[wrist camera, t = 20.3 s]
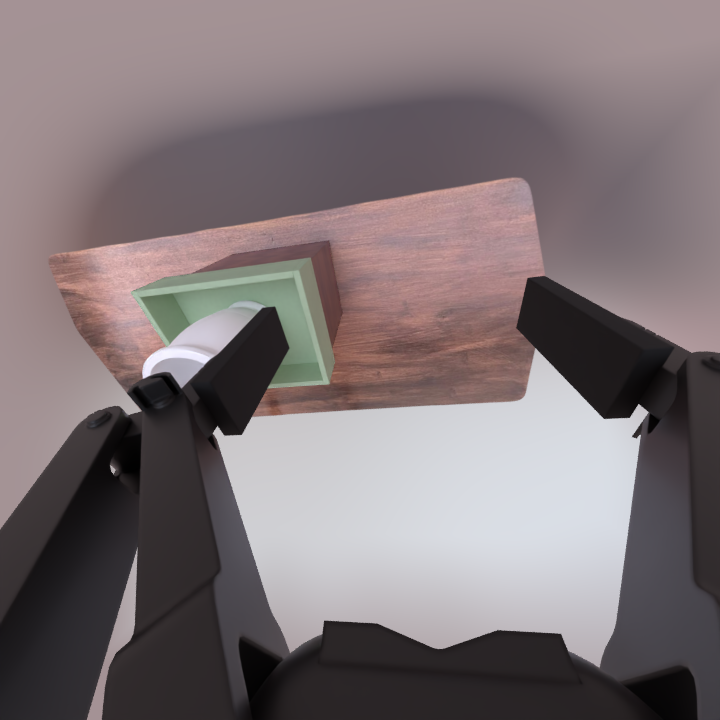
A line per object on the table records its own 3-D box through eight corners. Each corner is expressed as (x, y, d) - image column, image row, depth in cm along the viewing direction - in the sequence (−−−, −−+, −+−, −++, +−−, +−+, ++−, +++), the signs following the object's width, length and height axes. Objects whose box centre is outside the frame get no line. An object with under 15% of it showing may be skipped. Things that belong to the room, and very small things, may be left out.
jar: (264, 281, 34) (199, 335, 22) (301, 343, 40) (265, 414, 27) (203, 307, 37) (116, 367, 25) (245, 361, 42) (191, 434, 30)
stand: (258, 321, 60) (218, 366, 45) (232, 254, 51) (172, 282, 36) (342, 312, 57) (329, 357, 42) (328, 240, 49) (306, 264, 34)
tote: (216, 370, 45) (196, 393, 40) (164, 277, 36) (130, 291, 31) (335, 361, 42) (329, 384, 38) (310, 257, 33) (298, 270, 28)
